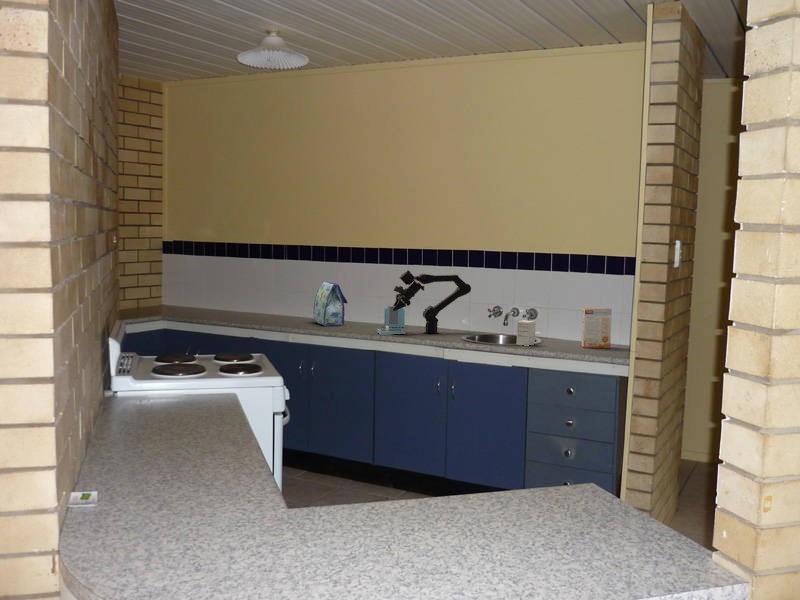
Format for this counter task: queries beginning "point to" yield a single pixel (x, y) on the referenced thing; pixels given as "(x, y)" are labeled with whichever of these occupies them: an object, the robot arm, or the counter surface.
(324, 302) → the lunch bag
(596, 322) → the cracker box
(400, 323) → the teal arch frame
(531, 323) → the white drawer cabinet
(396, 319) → the drive cartridge
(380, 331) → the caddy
